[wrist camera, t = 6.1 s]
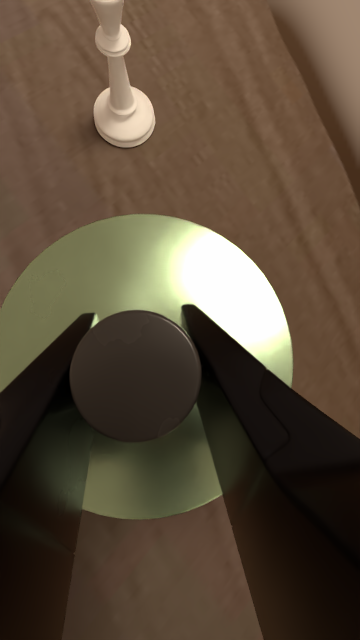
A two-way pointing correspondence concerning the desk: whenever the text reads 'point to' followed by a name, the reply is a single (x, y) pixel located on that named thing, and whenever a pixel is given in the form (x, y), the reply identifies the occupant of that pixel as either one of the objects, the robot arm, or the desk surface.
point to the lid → (142, 349)
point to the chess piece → (119, 84)
